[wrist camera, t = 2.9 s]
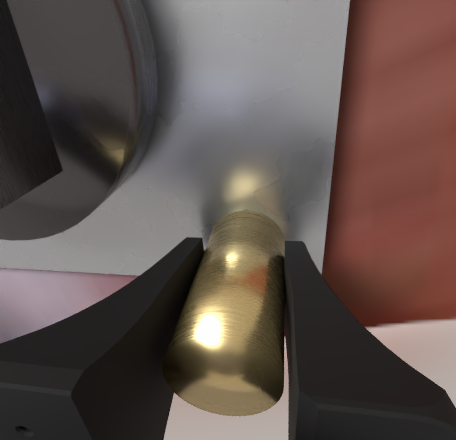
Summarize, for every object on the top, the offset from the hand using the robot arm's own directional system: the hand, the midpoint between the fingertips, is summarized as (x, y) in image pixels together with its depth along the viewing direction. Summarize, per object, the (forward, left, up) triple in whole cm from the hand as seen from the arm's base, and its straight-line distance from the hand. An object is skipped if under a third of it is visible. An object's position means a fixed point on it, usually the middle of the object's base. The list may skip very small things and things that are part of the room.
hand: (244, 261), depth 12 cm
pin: (0, 0, -1) cm, 1 cm away
